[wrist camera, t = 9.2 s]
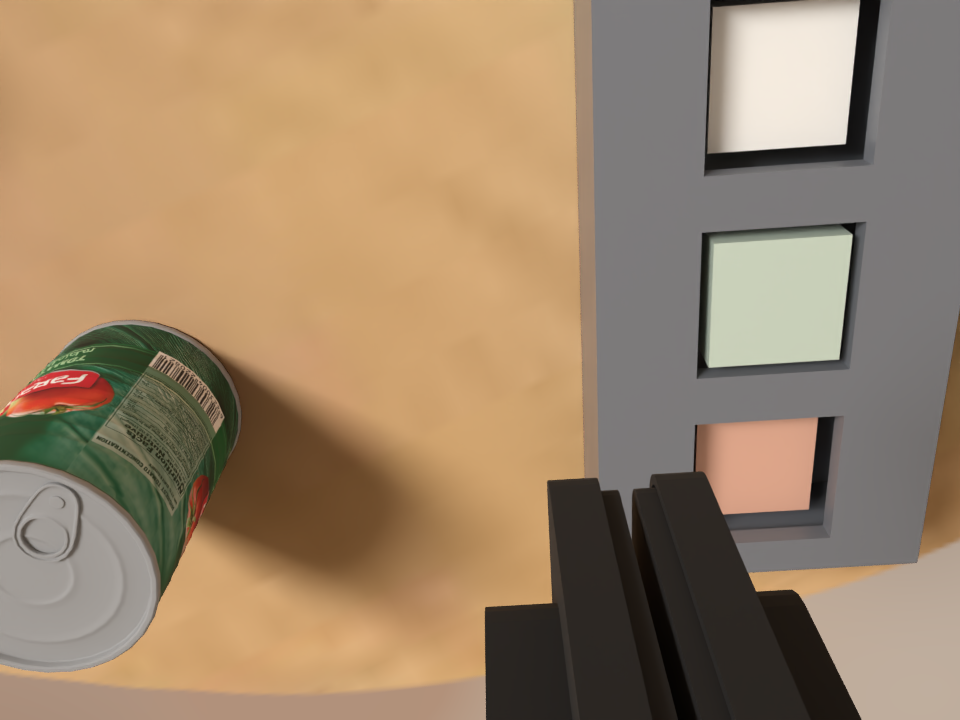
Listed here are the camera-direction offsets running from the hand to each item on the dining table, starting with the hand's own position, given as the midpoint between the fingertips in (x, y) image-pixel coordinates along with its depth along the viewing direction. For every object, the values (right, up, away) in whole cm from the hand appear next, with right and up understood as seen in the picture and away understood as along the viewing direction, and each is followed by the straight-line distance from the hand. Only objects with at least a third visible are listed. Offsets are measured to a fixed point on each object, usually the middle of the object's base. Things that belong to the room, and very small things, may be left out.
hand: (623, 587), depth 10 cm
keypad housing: (+8, +7, +25) cm, 27 cm away
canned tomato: (-15, +1, +28) cm, 32 cm away
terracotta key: (+9, 0, +26) cm, 28 cm away
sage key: (+8, +5, +22) cm, 24 cm away
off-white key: (+8, +12, +20) cm, 25 cm away
